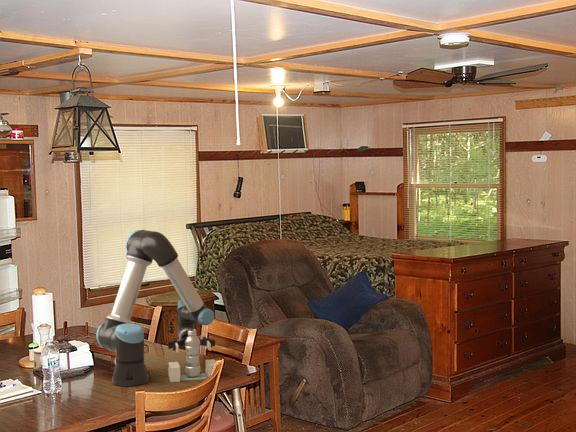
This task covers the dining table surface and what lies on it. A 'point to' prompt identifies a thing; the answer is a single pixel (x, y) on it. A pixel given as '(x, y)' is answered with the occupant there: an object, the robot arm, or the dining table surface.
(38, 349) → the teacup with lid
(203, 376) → the gap mat
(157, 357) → the dining table surface
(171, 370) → the gap blocks
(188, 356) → the plastic bottle
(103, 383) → the dining table surface
